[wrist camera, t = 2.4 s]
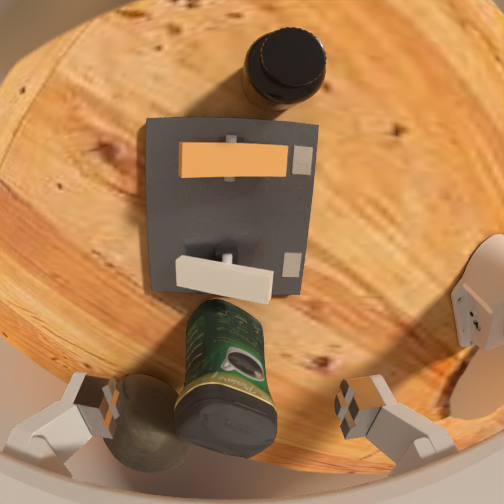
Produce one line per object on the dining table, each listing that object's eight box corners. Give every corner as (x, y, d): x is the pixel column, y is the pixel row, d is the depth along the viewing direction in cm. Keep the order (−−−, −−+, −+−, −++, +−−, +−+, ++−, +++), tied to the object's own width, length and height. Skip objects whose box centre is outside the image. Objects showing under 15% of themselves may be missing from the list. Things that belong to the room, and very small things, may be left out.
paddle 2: (276, 261, 31) (270, 270, 29) (272, 299, 33) (267, 310, 30) (186, 246, 33) (175, 253, 31) (187, 282, 35) (177, 291, 33)
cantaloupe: (110, 399, 45) (88, 467, 31) (118, 343, 40) (87, 422, 27) (186, 422, 48) (180, 493, 34) (209, 372, 43) (206, 456, 29)
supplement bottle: (313, 70, 29) (354, 44, 18) (288, 121, 31) (318, 117, 20) (257, 43, 28) (271, 2, 16) (230, 95, 30) (230, 75, 19)
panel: (314, 125, 31) (323, 124, 28) (297, 288, 39) (303, 302, 36) (150, 118, 30) (141, 117, 27) (154, 285, 37) (148, 298, 34)
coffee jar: (178, 328, 40) (157, 443, 23) (211, 287, 38) (201, 403, 21) (237, 360, 43) (244, 472, 26) (271, 323, 41) (296, 438, 23)
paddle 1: (276, 137, 30) (288, 138, 28) (273, 179, 31) (285, 183, 29) (177, 134, 26) (182, 134, 24) (176, 181, 27) (181, 186, 25)
